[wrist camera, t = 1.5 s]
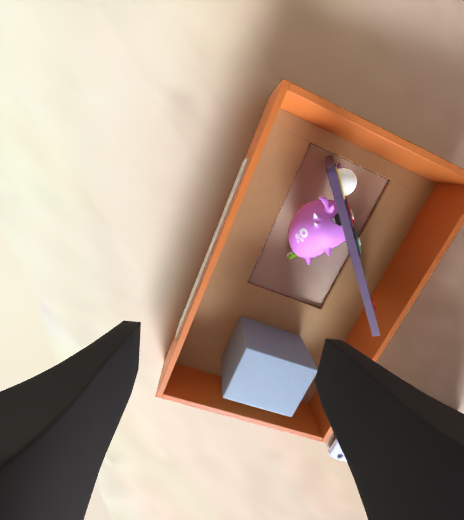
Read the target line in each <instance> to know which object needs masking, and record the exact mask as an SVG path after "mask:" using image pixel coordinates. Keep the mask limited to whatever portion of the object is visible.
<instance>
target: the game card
mask: <svg viewBox="0 0 464 520" xmlns="http://www.w3.org/2000/svg"><path fill="white" fill-rule="evenodd" d="M326 171H327V174H328V178H329V181H330V185H331V189H332V192H333V196H334V199H335V200H334V201H332V200H327V199H326V198H324V197H319V199H320V200H315V201H312V202H309V203H307V204H305V205H304V206H302V207H301V208H300V209H299V210H298V211H297V212H296V214H295V215H294V217H293V219H292V221H291V223H290V227H289V232H288V239H289V244H290V247H291V249H292V250H293V251H292V252H291V251H290V252H289V254H288V253H287V255H286V256H288V258H289V259H292V258H295V257H297V256H299V257H301V258H304V259H305V261H306V263H307V265H310V262H311V258H314V257H316V256H319V255H321V254H322V253H324V252H325V253H326V254H327V255H328V256H330V255H331V249H332V248H334V247H336V246H338V245H340V244H341V243H342V242H343V241H344V240H345V241H346V242H347V246H348V250H349V253H350V257H351V260H352V264H353V268H354V271H355V275H356V278H357V282H358V286H359V289H360V293H361V296H362V300H363V303H364V307H365V311H366V314H367V318H368V321H369V325H370V329H371V332H372V336H380V332H379V328H378V324H377V320H376V317H375V311H376V308H375V304H374V300H373V297H371V296H370V294H369V290H368V286H367V281H366V279H365V275H364V271H363V267H362V264H361V260H360V257H361V253H360V252H361V249H360V245H361V242H360V239H359V238H357V234H356V232H355V231H354V227H353V226H354V223H353V220H354V216H353V212H352V210H351V211H350V208H349V204H347V201H346V200H345V196H347V195H349V194H351V193H352V192H353V191H354V189H355V188H356V185H357V178H356V175H355V174H354V172H353V171H351V170H349V169H346V168H341V167H340V163H338V164H337V167H335V163H334V160H333V156H332V155H331V156H329V157H326ZM351 214H352V215H351ZM352 218H353V219H352ZM371 299H372V300H371ZM374 310H375V311H374Z"/></svg>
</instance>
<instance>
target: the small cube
mask: <svg viewBox="0 0 464 520" xmlns="http://www.w3.org/2000/svg"><path fill="white" fill-rule="evenodd" d="M317 370H318V368H317V367H316V365H315V363H314V361H313V359H312V357H311V355H310V353H309V351H308V349H307V348H306V346H305V344H304V342H303V340H302V338H301V336H299V335H296V334H293V333H290V332H287V331H284V330H281V329H278V328H276V327H273V326H270V325H267V324H264V323H261V322H258V321H255V320H252V319H249V318H246V317H243V316H240V318H239V320H238V322H237V324H236V327H235V329H234V331H233V333H232V335H231V338H230V340H229V342H228V344H227V346H226V348H225V351H224V353H223V355H222V357H221V375H222V397H223V398H225V399H229V400H232V401H236V402H239V403H243V404H246V405H250V406H254V407H257V408H261V409H264V410H268V411H271V412H275V413H278V414H282V415H285V416H289V417H292V416H293V414H294V412H295V410H296V409H297V407H298V405H299V403H300V402H301V400H302V398H303V396H304V395H305V393H306V391H307V389H308V388H309V386H310V384H311V382H312V380H313V379H314V377H315V375H316V373H317Z"/></svg>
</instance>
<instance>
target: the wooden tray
mask: <svg viewBox="0 0 464 520" xmlns="http://www.w3.org/2000/svg"><path fill="white" fill-rule="evenodd" d="M310 143H311V144H314V145H316V146H318V147H320V148H322V149H324V150H326V151H329V152H331V153H333V154H335V155H337V156H339V157H341V158H343V159H346V160H348V161H350V162H352V163H354V164H356V165H358V166H361V167H363V168H365V169H367V170H369V171H371V172H373V173H375V174H378V175H380V176H382V177H384V178H386V179H388V180H389V182H388V184H387V186H386V188H385V190H384V191H383V193H382V195H381V197H380V199H379V201H378V203H377V204H376V206H375V208H374V210H373V212H372V214H371V216H370V217H369V219H368V221H367V223H366V225H365V227H364V229H363V231H362V232H361V234H360V236H359V239H360V242H361V245H360V249H361V252H360V253H361V257H360V260H361V264H362V267H363V271H364V275H365V279H366V281H367V286H368V290H369V294H370V296H371V297H373V300H374V304H375V308H376V311H375V310H374V311H375V317H376V320H377V324H378V328H379V332H380V336H372V332H371V329H370V325H369V321H368V318H367V314H366V311H365V307H364V303H363V300H362V296H361V293H360V289H359V286H358V282H357V278H356V275H355V271H354V268H353V264H352V260H351V257H350V255H349V257H348V258H347V260H346V262H345V264H344V266H343V268H342V270H341V272H340V273H339V275H338V277H337V279H336V281H335V283H334V285H333V286H332V288H331V290H330V292H329V294H328V296H327V298H326V299H325V301H324V303H323V305H322V307H321V309H320V308H318V307H315V306H312V305H309V304H306V303H304V302H301V301H298V300H295V299H293V298H290V297H287V296H284V295H281V294H279V293H276V292H273V291H270V290H268V289H265V288H262V287H259V286H257V285H254V284H251V283H248V281H249V278H250V276H251V274H252V272H253V269H254V267H255V265H256V263H257V260H258V258H259V256H260V254H261V252H262V249H263V247H264V245H265V243H266V240H267V238H268V236H269V234H270V232H271V229H272V227H273V225H274V223H275V220H276V218H277V216H278V214H279V211H280V209H281V207H282V205H283V203H284V200H285V198H286V196H287V194H288V191H289V189H290V187H291V185H292V183H293V180H294V178H295V176H296V174H297V171H298V169H299V167H300V165H301V162H302V160H303V158H304V156H305V154H306V151H307V149H308V147H309V145H310ZM463 224H464V169H462V168H460V167H458V166H456V165H454V164H452V163H450V162H448V161H446V160H444V159H442V158H440V157H438V156H436V155H434V154H433V153H431V152H429V151H427V150H425V149H423V148H421V147H419V146H417V145H415V144H413V143H411V142H409V141H407V140H405V139H403V138H401V137H399V136H397V135H395V134H393V133H391V132H389V131H387V130H385V129H383V128H381V127H379V126H377V125H375V124H373V123H371V122H369V121H367V120H365V119H363V118H361V117H359V116H357V115H355V114H353V113H351V112H349V111H347V110H345V109H343V108H341V107H339V106H337V105H335V104H333V103H331V102H329V101H327V100H325V99H323V98H321V97H319V96H317V95H315V94H313V93H311V92H309V91H307V90H305V89H303V88H301V87H299V86H297V85H295V84H293V83H290V82H289V81H287V80H285V79H283V80H282V81H281V83H280V84H279V85H278V86H277V88H276V89H275V90H274V91H273V93H272V94H271V95H270V97H269V99H268V102H267V104H266V107H265V109H264V112H263V114H262V117H261V119H260V122H259V124H258V127H257V129H256V132H255V134H254V137H253V139H252V142H251V144H250V147H249V149H248V152H247V154H246V157H245V159H244V160H243V163H242V165H241V168H240V170H239V173H238V175H237V178H236V181H235V183H234V186H233V188H232V191H231V193H230V196H229V198H228V201H227V203H226V206H225V208H224V211H223V213H222V216H221V218H220V221H219V223H218V226H217V228H216V231H215V234H214V236H213V239H212V241H211V244H210V246H209V249H208V251H207V254H206V256H205V259H204V261H203V264H202V266H201V269H200V271H199V274H198V276H197V279H196V281H195V284H194V287H193V289H192V292H191V294H190V297H189V299H188V302H187V304H186V307H185V309H184V312H183V314H182V317H181V319H180V322H179V324H178V328H177V331H176V333H175V336H174V338H173V341H172V343H171V346H170V349H169V351H168V354H167V356H166V359H165V361H164V364H163V368H162V372H161V376H160V380H159V384H158V388H157V392H156V397H158V398H161V397H162V399H166V400H170V401H173V402H177V403H181V404H184V405H188V406H192V407H195V408H199V409H203V410H206V411H210V412H214V413H217V414H221V415H225V416H228V417H232V418H236V419H240V420H243V421H247V422H251V423H254V424H258V425H262V426H265V427H269V428H273V429H276V430H280V431H284V432H287V433H291V434H295V435H298V436H302V437H306V438H310V439H313V440H317V441H321V442H324V443H326V442H327V440H328V438H329V437H330V435H331V434H332V432H333V430H332V428H331V426H330V423H329V421H328V419H327V417H326V414H325V412H324V410H323V407H322V405H321V402H320V399H319V396H318V392H317V389H316V385H315V377H316V375H315V377H314V379H313V380H312V382H311V384H310V386H309V388H308V389H307V391H306V393H305V395H304V396H303V398H302V400H301V402H300V403H299V405H298V407H297V409H296V410H295V412H294V414H293V416H292V417H289V416H285V415H282V414H278V413H275V412H271V411H268V410H264V409H261V408H257V407H254V406H250V405H246V404H243V403H239V402H236V401H232V400H229V399H225V398H223V397H222V375H221V357H222V355H223V353H224V351H225V348H226V346H227V344H228V342H229V340H230V338H231V335H232V333H233V331H234V329H235V327H236V324H237V322H238V320H239V318H240V316H243V317H246V318H249V319H252V320H255V321H258V322H261V323H264V324H267V325H270V326H273V327H276V328H278V329H281V330H284V331H287V332H290V333H293V334H296V335H299V336H301V338H302V340H303V342H304V344H305V346H306V348H307V349H308V351H309V353H310V355H311V357H312V359H313V361H314V363H315V365H316V367H317V368H318V366H319V362H320V358H321V355H322V351H323V347H324V343H325V339H338V340H342V341H344V342H346V343H347V344H349V345H351V346H352V347H354V348H355V349H357V350H358V351H360V352H361V353H363V354H364V355H366V356H367V357H369V358H370V359H372V360H373V361H375V362H377V360H378V359H379V357H380V356H381V354H382V352H383V351H384V349H385V348H386V346H387V345H388V343H389V341H390V340H391V338H392V337H393V335H394V333H395V332H396V330H397V329H398V327H399V325H400V324H401V322H402V321H403V319H404V317H405V316H406V314H407V313H408V311H409V310H410V308H411V306H412V305H413V303H414V302H415V300H416V298H417V297H418V295H419V294H420V292H421V290H422V289H423V287H424V286H425V284H426V282H427V281H428V279H429V278H430V276H431V275H432V273H433V271H434V270H435V268H436V267H437V265H438V263H439V262H440V260H441V259H442V257H443V255H444V254H445V252H446V251H447V249H448V247H449V246H450V244H451V243H452V241H453V240H454V238H455V236H456V235H457V233H458V232H459V230H460V228H461V227H462V225H463ZM371 300H372V299H371ZM316 374H317V373H316Z"/></svg>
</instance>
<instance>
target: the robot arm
mask: <svg viewBox="0 0 464 520" xmlns="http://www.w3.org/2000/svg"><path fill="white" fill-rule="evenodd" d="M140 326H141V322H131V321H123V322H121V323H120V324H119V325H117V326H116V327H114V328H113V329H112V330H110V331H109V332H107V333H106V334H105V335H103V336H102V337H100V338H99V339H97V340H96V341H95V342H93V343H92V344H90V345H89V346H87V347H86V348H84V349H82V350H81V351H79V352H78V353H76V354H74V355H73V356H71V357H69V358H68V359H66V360H65V361H63V362H61V363H59V364H58V365H56V366H54V367H52V368H51V369H48V370H46V371H45V372H43V373H41V374H39V375H37V376H35V377H33V378H31V379H28V380H26V381H24V382H22V383H20V384H17V385H15V386H13V387H10V388H8V389H6V390H3V391H1V392H0V520H84V516H85V513H86V510H87V507H88V503H89V501H90V498H91V494H92V491H93V488H94V485H95V482H96V479H97V476H98V473H99V470H100V467H101V465H102V462H103V459H104V457H105V454H106V452H107V449H108V447H109V445H110V442H111V440H112V438H113V435H114V433H115V431H116V428H117V426H118V424H119V421H120V419H121V417H122V414H123V412H124V410H125V407H126V405H127V403H128V400H129V398H130V395H131V392H132V389H133V386H134V382H135V379H136V375H137V372H138V366H139V346H140ZM315 385H316V389H317V392H318V396H319V399H320V402H321V405H322V407H323V410H324V412H325V414H326V417H327V419H328V421H329V423H330V426H331V428H332V430H333V432H334V434H335V437H336V439H335V441H334V442H333V444H332V445H331V447H330V448H329V450H328V453H329V455H330V457H331V458H334V459H338V460H342V461H346V462H347V463H348V465H349V467H350V470H351V472H352V475H353V477H354V480H355V482H356V485H357V488H358V491H359V494H360V497H361V500H362V502H363V505H364V508H365V511H366V514H367V517H368V520H464V414H463V413H461V412H459V411H457V410H455V409H453V408H451V407H449V406H447V405H445V404H443V403H441V402H440V401H438V400H436V399H434V398H432V397H430V396H428V395H427V394H425V393H423V392H422V391H420V390H418V389H416V388H415V387H413V386H412V385H410V384H408V383H407V382H405V381H403V380H402V379H400V378H399V377H397V376H396V375H394V374H393V373H391V372H389V371H388V370H386V369H385V368H383V367H382V366H380V365H379V364H377V363H376V362H375V361H373V360H372V359H370V358H369V357H367V356H366V355H364V354H363V353H361V352H360V351H358V350H357V349H355V348H354V347H352V346H351V345H349V344H347V343H346V342H344V341H342V340H338V339H325V343H324V347H323V351H322V355H321V358H320V362H319V366H318V370H317V374H316V377H315Z"/></svg>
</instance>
